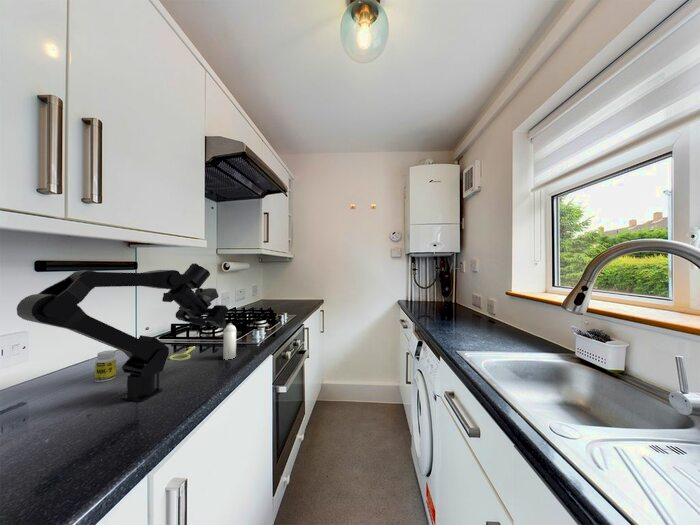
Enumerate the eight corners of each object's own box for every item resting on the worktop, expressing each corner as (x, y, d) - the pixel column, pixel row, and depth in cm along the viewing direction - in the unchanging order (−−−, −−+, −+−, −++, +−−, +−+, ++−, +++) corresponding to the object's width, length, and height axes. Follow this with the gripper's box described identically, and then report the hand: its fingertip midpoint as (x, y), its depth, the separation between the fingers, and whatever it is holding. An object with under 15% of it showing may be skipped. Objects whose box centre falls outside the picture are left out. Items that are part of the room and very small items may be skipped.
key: (195, 350, 109) (195, 345, 109) (189, 360, 97) (189, 355, 97) (176, 352, 106) (176, 347, 106) (166, 363, 95) (166, 357, 95)
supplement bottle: (92, 383, 77) (93, 355, 77) (97, 378, 81) (97, 351, 81) (114, 380, 79) (114, 352, 80) (117, 374, 83) (118, 348, 84)
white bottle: (231, 360, 96) (231, 324, 97) (220, 359, 97) (221, 324, 97) (238, 356, 101) (238, 322, 101) (228, 355, 102) (228, 321, 102)
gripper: (224, 281, 85) (247, 309, 95) (184, 280, 91) (210, 306, 102) (203, 309, 77) (231, 336, 88) (160, 305, 84) (191, 331, 94)
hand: (215, 326), depth 93 cm, fingers open, 9 cm apart
